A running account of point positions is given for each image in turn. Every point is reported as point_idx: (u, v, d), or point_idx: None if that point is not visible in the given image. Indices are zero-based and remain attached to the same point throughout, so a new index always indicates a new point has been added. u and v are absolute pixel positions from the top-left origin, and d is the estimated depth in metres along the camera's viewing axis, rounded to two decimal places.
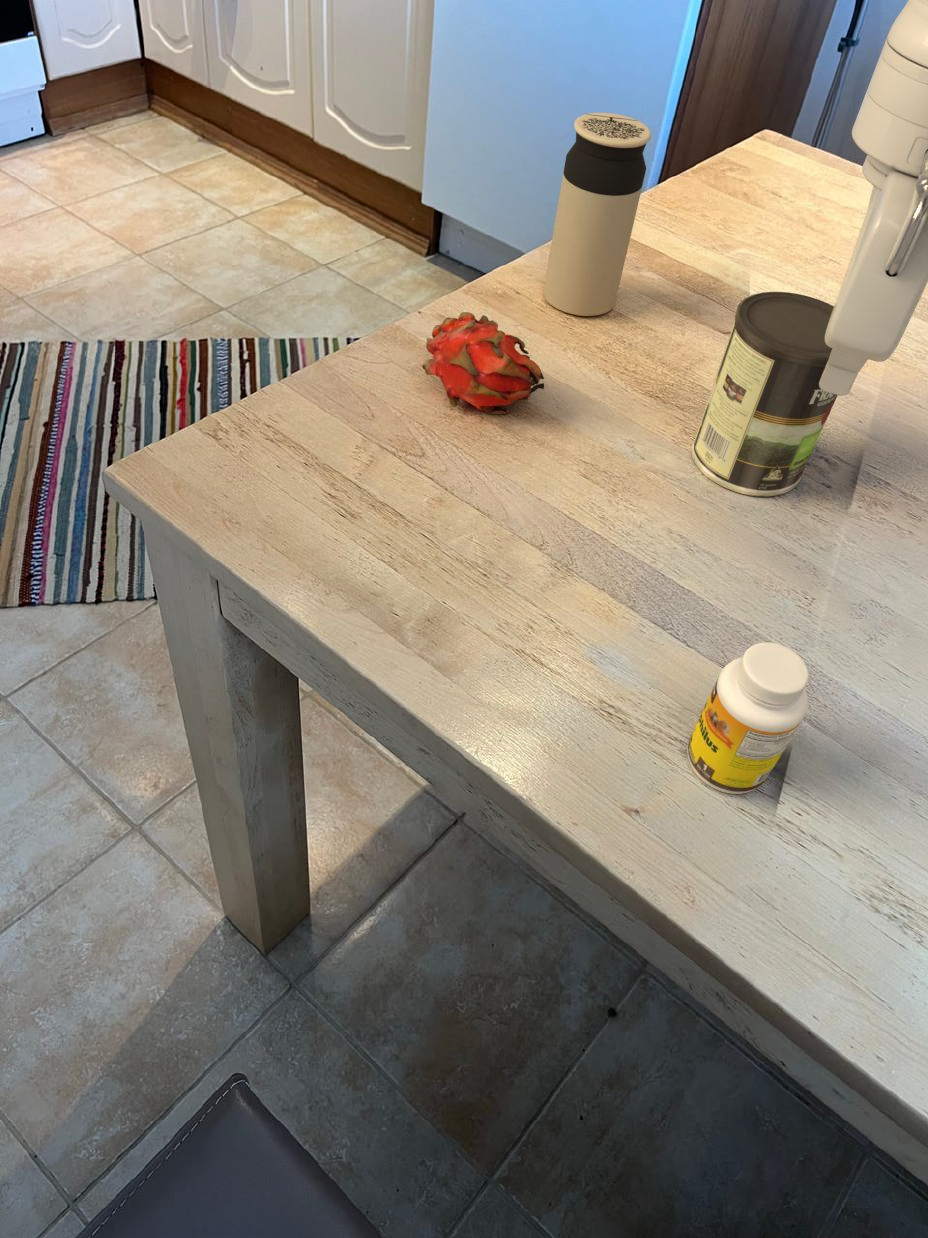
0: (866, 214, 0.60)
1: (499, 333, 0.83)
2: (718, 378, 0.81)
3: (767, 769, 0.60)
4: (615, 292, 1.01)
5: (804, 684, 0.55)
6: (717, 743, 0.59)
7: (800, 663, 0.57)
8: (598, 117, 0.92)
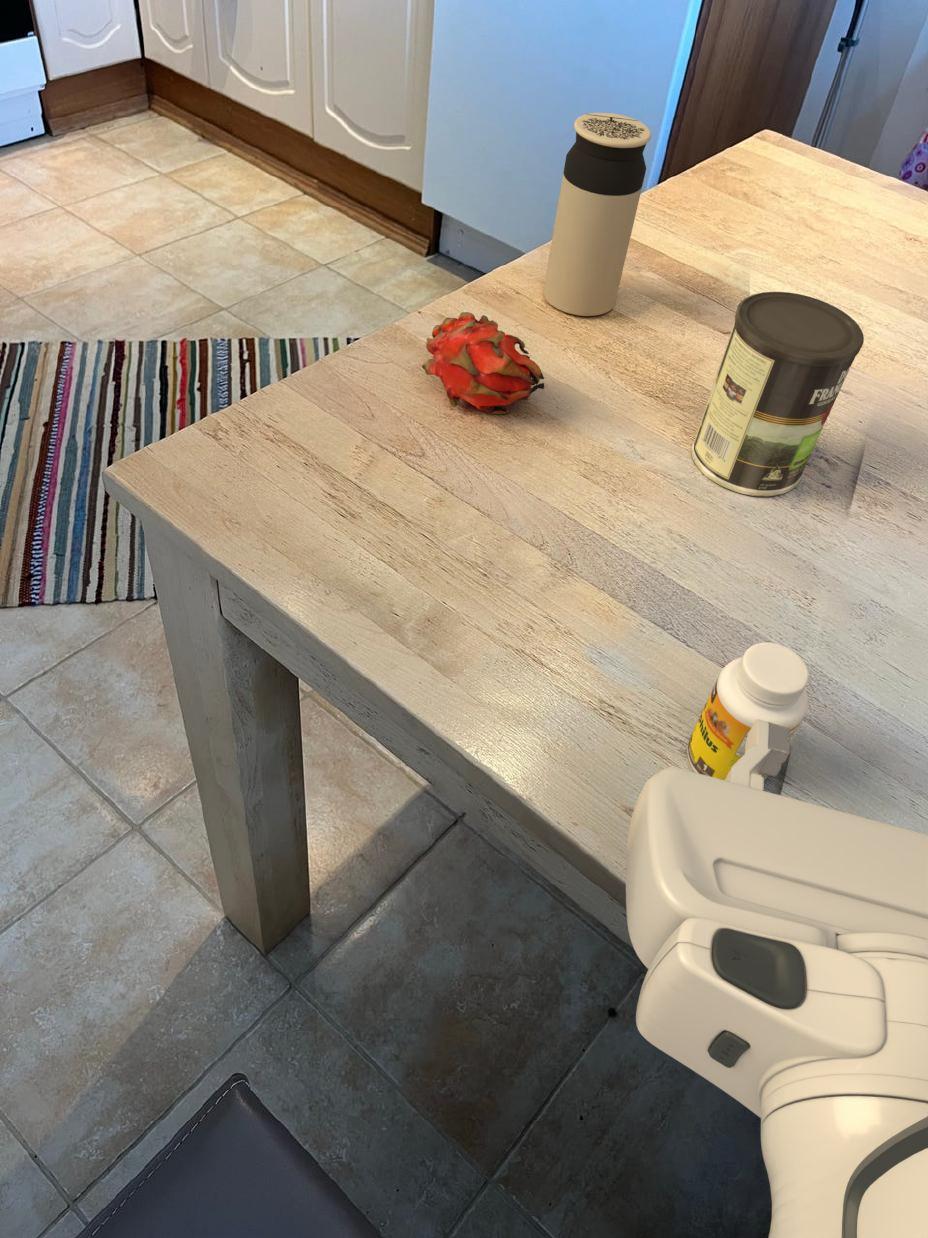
0: None
1: (499, 333, 0.83)
2: (718, 378, 0.81)
3: None
4: (615, 292, 1.01)
5: (804, 684, 0.55)
6: (717, 743, 0.59)
7: (800, 663, 0.57)
8: (598, 117, 0.92)
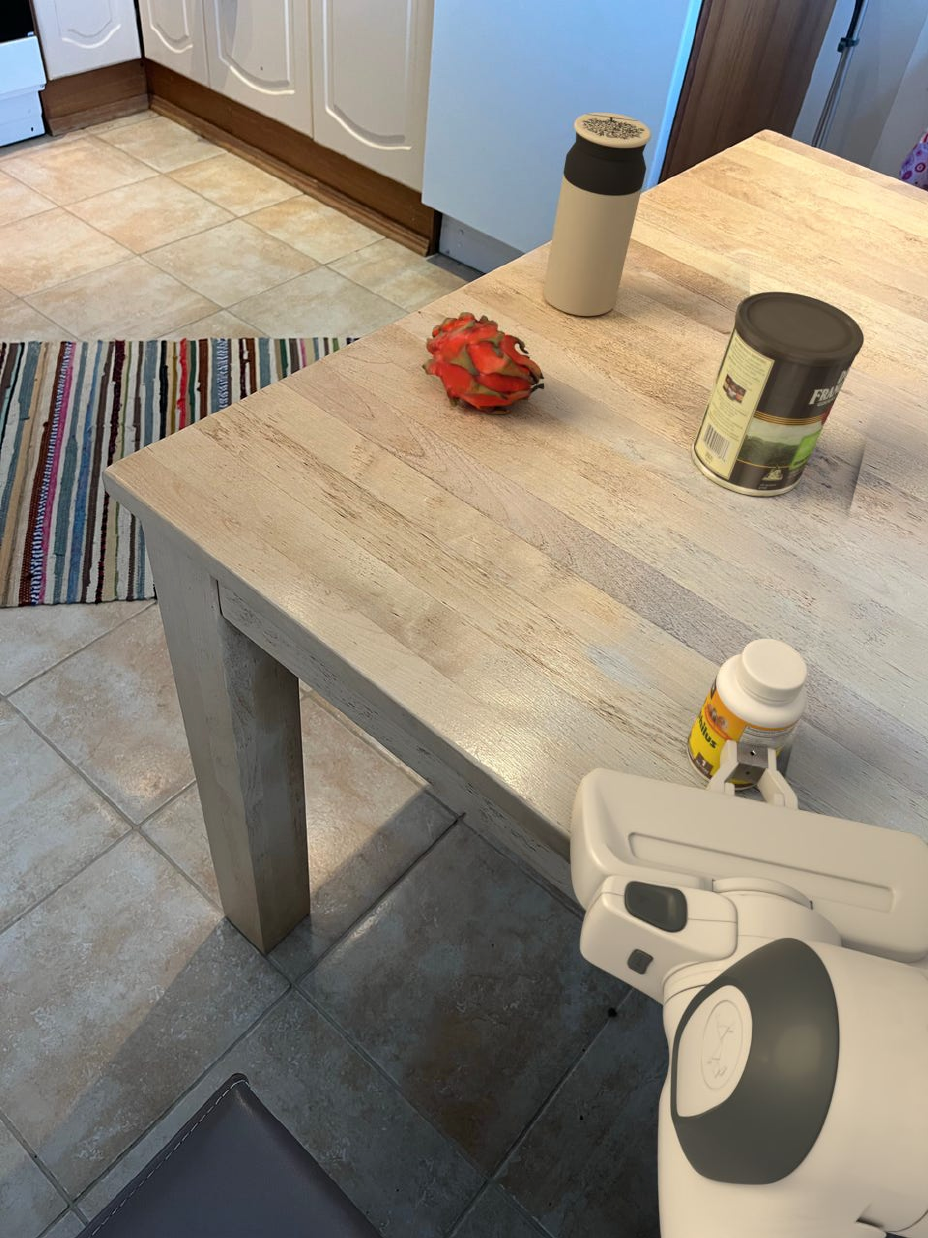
0: None
1: (499, 333, 0.83)
2: (718, 378, 0.81)
3: None
4: (615, 292, 1.01)
5: (803, 680, 0.56)
6: (715, 738, 0.59)
7: (799, 660, 0.57)
8: (598, 117, 0.92)
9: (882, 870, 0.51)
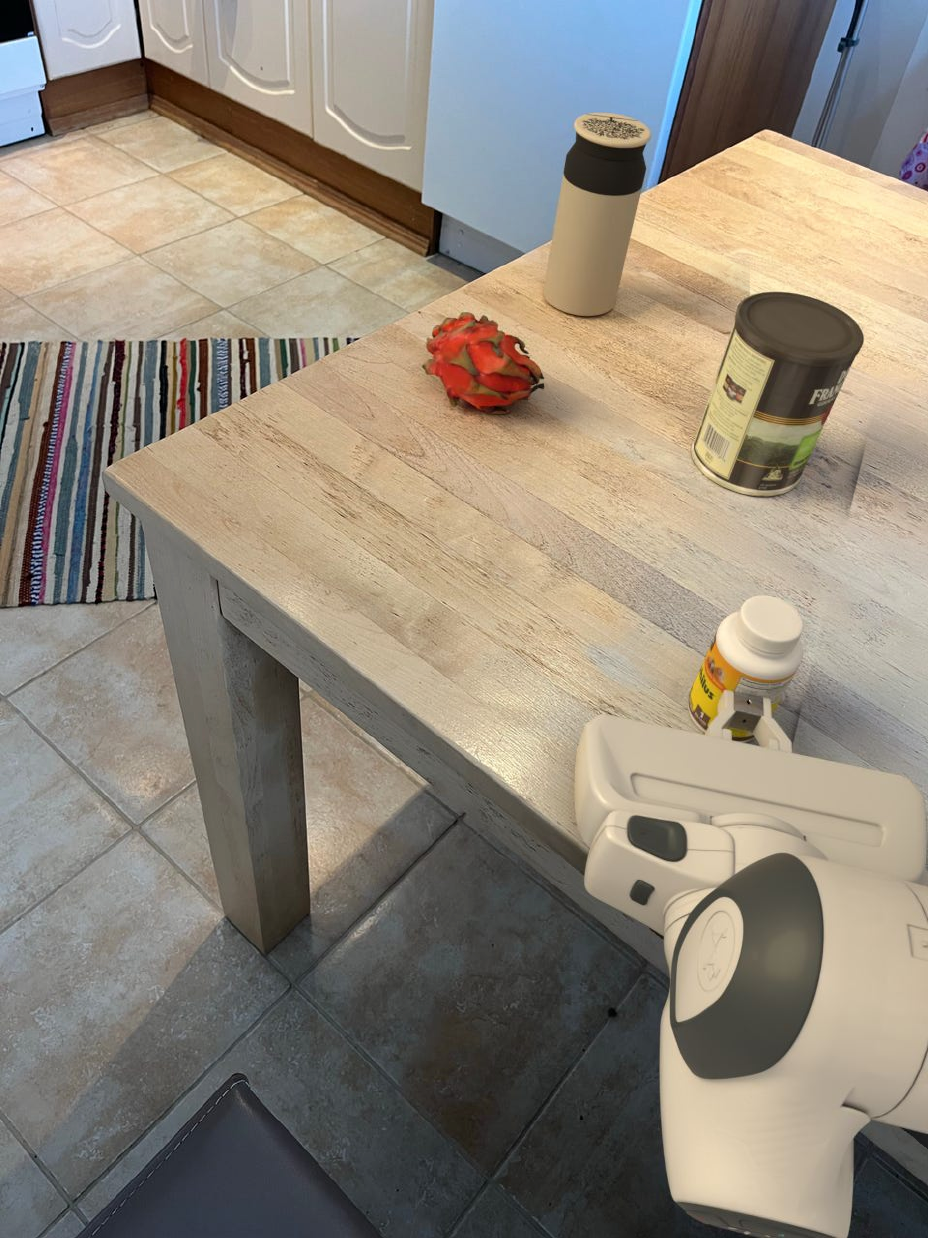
0: None
1: (499, 333, 0.83)
2: (718, 378, 0.81)
3: None
4: (615, 292, 1.01)
5: (797, 635, 0.58)
6: (713, 689, 0.62)
7: (796, 616, 0.59)
8: (598, 117, 0.92)
9: (872, 808, 0.54)
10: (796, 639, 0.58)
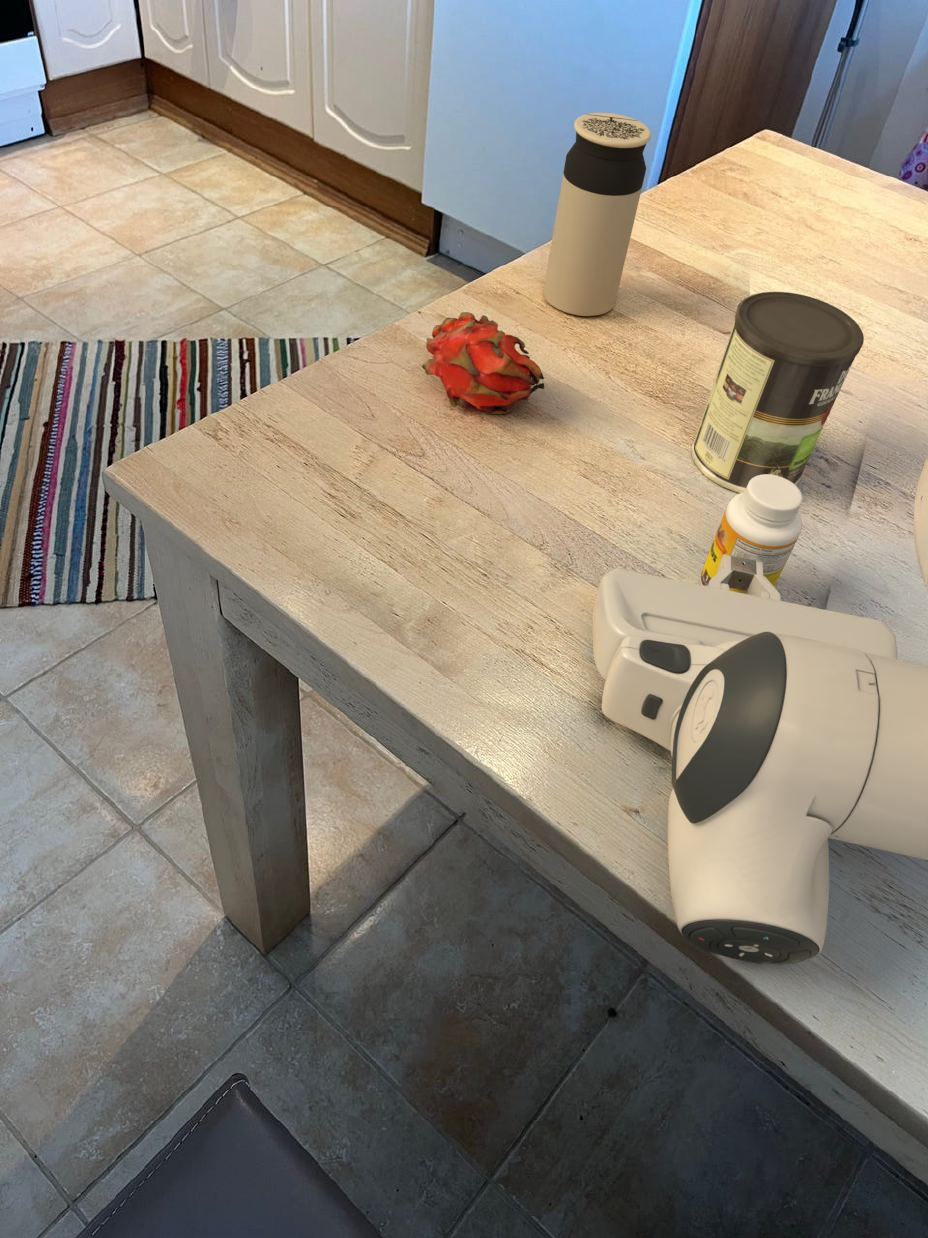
0: None
1: (499, 333, 0.83)
2: (718, 378, 0.81)
3: None
4: (615, 292, 1.01)
5: (791, 507, 0.67)
6: (717, 552, 0.71)
7: (798, 495, 0.68)
8: (598, 117, 0.92)
9: (850, 643, 0.63)
10: (789, 511, 0.67)
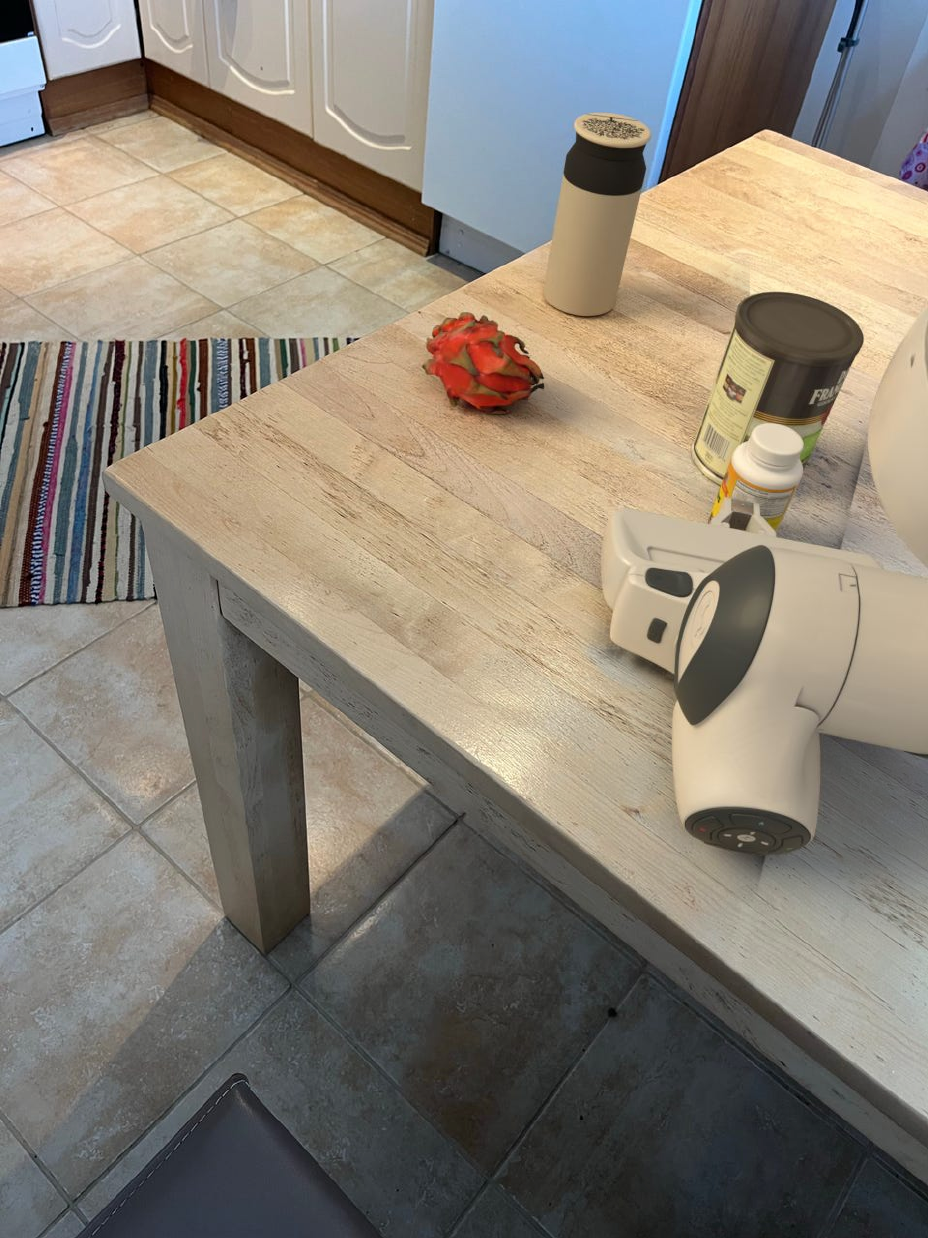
0: None
1: (499, 333, 0.83)
2: (718, 378, 0.81)
3: None
4: (615, 292, 1.01)
5: (789, 453, 0.71)
6: (721, 493, 0.76)
7: (799, 444, 0.72)
8: (598, 117, 0.92)
9: None
10: (787, 456, 0.71)
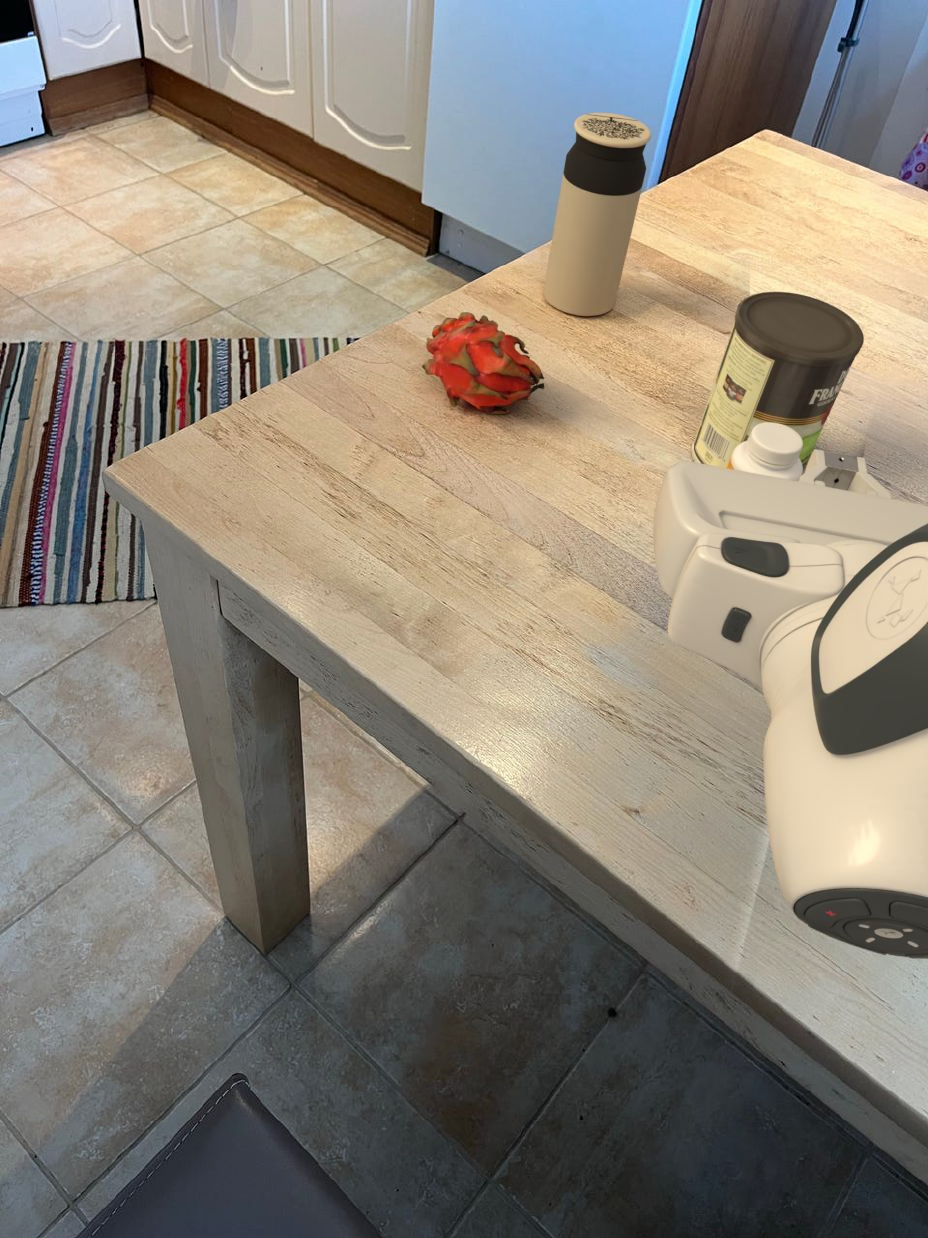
0: None
1: (499, 333, 0.83)
2: (718, 378, 0.81)
3: None
4: (615, 292, 1.01)
5: (788, 452, 0.71)
6: None
7: (798, 443, 0.72)
8: (598, 117, 0.92)
9: None
10: (786, 455, 0.71)
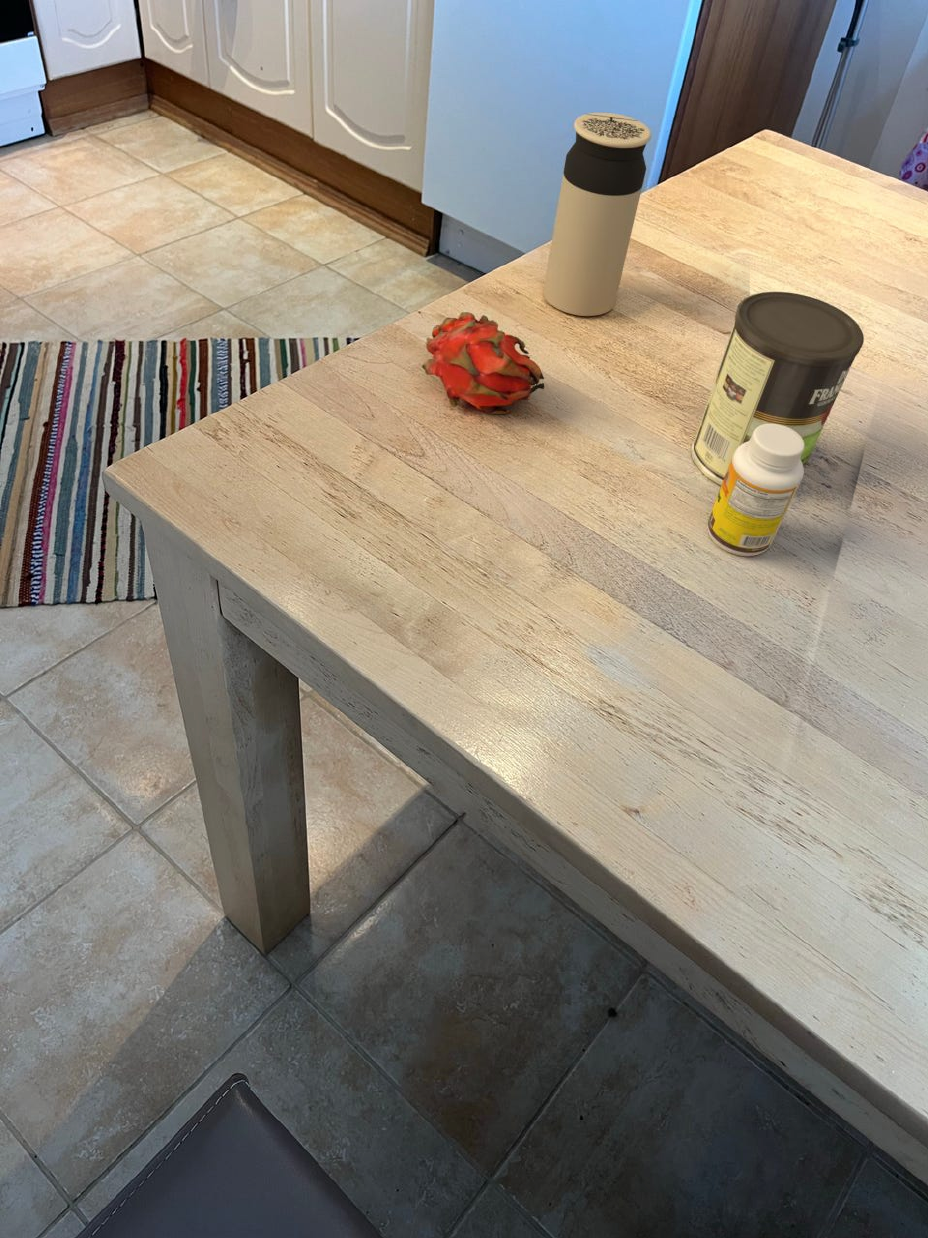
0: None
1: (499, 333, 0.83)
2: (718, 378, 0.81)
3: (751, 532, 0.76)
4: (615, 292, 1.01)
5: (789, 454, 0.71)
6: (721, 493, 0.76)
7: (800, 445, 0.72)
8: (598, 117, 0.92)
9: None
10: (787, 457, 0.71)
